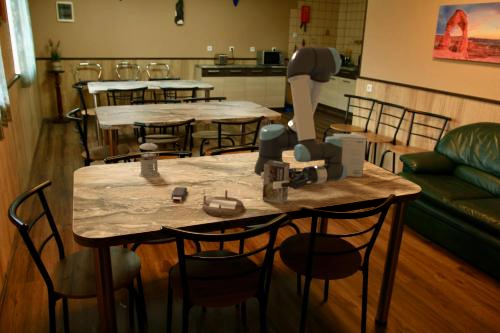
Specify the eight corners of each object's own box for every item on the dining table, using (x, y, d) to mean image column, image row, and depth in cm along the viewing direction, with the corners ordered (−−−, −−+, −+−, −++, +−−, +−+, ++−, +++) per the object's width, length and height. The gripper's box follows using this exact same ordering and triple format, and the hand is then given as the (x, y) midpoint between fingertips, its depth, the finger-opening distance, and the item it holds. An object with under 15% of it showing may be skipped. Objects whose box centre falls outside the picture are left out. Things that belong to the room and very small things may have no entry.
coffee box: (287, 199, 170) (290, 162, 165) (282, 204, 164) (285, 167, 159) (267, 194, 174) (270, 159, 168) (261, 200, 168) (263, 163, 163)
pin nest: (207, 198, 168) (207, 188, 167) (245, 201, 167) (245, 191, 165) (198, 215, 153) (198, 204, 152) (240, 218, 152) (241, 207, 150)
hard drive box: (359, 172, 208) (364, 134, 202) (362, 177, 201) (367, 138, 195) (329, 170, 210) (333, 132, 203) (330, 175, 202) (334, 136, 196)
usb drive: (187, 192, 175) (187, 186, 174) (183, 203, 164) (183, 197, 163) (174, 191, 175) (174, 185, 174) (170, 203, 163) (170, 196, 163)
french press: (134, 175, 190) (131, 123, 182) (149, 168, 201) (147, 118, 193) (152, 179, 187) (150, 126, 179) (166, 171, 197) (164, 121, 189)
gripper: (328, 193, 165) (280, 200, 156) (299, 174, 184) (255, 179, 176) (330, 175, 162) (281, 181, 153) (300, 158, 182) (255, 163, 173)
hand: (267, 180), depth 164 cm, fingers closed on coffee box, 10 cm apart
